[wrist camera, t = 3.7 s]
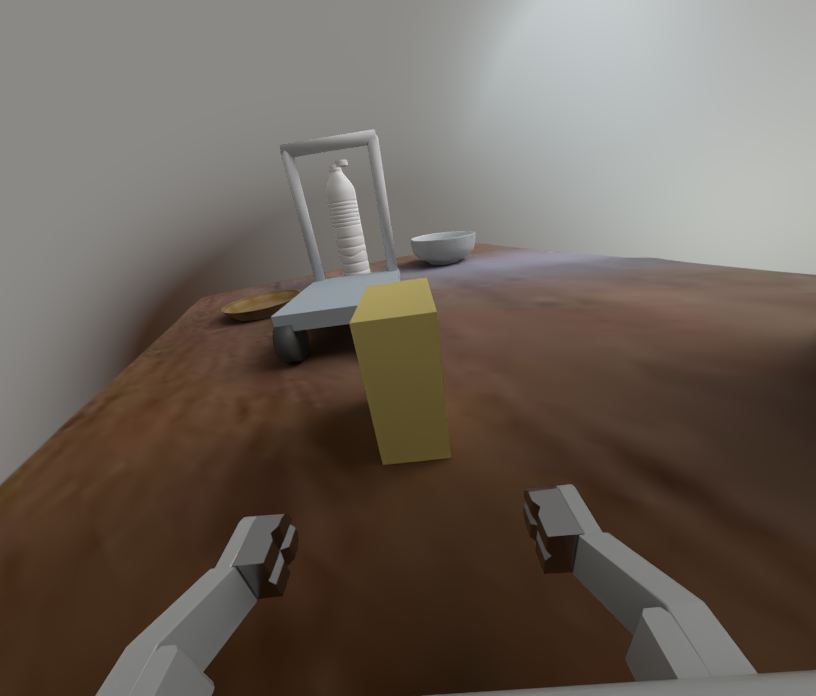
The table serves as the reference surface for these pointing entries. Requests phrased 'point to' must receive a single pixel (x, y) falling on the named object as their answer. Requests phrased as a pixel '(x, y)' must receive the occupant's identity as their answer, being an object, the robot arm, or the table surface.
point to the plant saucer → (259, 305)
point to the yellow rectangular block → (402, 370)
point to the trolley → (324, 296)
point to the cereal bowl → (443, 246)
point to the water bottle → (346, 221)
